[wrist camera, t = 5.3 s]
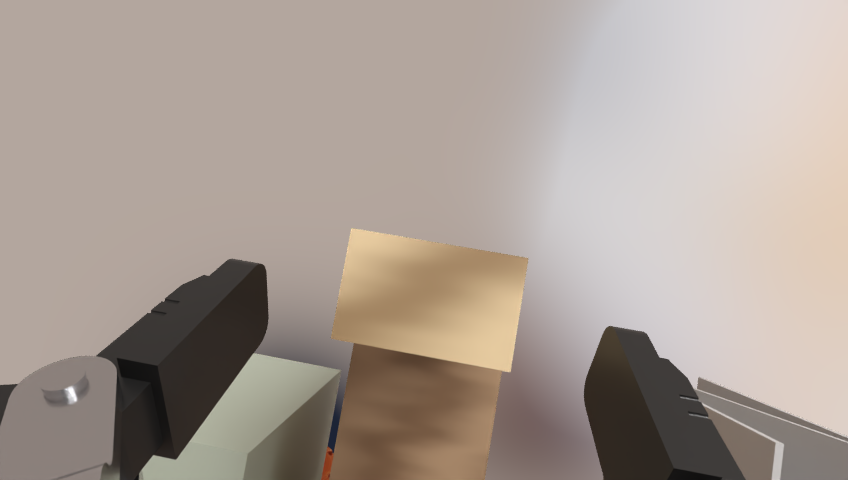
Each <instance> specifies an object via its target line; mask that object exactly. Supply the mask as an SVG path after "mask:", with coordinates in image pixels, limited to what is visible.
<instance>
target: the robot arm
mask: <svg viewBox="0 0 848 480" xmlns="http://www.w3.org/2000/svg"><path fill="white" fill-rule="evenodd" d="M266 276H267V275H266V269H265V266H264V265H263V264H259V263H253V262H248V261H242V260H236V259H229V260H227V261H226V262H225V263H224V264H222V265H221V266H220V267H219V268H218V269H217V270H216V271H214V272H213V273H212V274H211V275H210V276H206V275H203V276H201V277H199V278H196V279H194V280H192V281H190V282H187V283H185V284H183V285H181V286H180V287H179V288H177V289H176V290H175V291H174V292H173V293H171V294H170V295H169V296H168V297H167V298H165V301H164V302H161V303H159V304H158V305H157V306H156V307H154V308H153V309H152V310H151V313H147V314H146V315H145V316H144V317H142V318H141V319H140V320H139V321H138V322H136V323H135V324H134V325H133V326H132V327H130V328H129V329H128V330H127V331H126V332H124V333H123V334H122V335H121V336H120V337H118V338H117V339H116V340H115V341H114V342H112V343H111V344H110V345H109V346H108V347H106V348H105V349H104V350H103V351H101V352H100V353H99V354H98V355H97V356H79V357H73V358H68V359H64V360H60V361H57V362H54V363H52V364H49V365H47V366H45V367H42V368H41V369H39V370H37V371H35V372H33V373H32V374H30V375H29V376H27V377H26V378H25V379H23V380H22V381H21V382H20V383H19V384H12V385H0V480H144V478H143V472H142V469H143V468H144V466H145V465H146V464H147V463H148V461H149V460H150V459H151V457H152V456H153V455H155V456H159V457H164V458H169V459H174V460H176V459H177V458H178V457H179V455H180V454H181V452H182V451H183V450H184V448H185V447H186V446H187V444H188V443H189V441H190V440H191V439H192V437H193V436H194V435H195V433H196V432H197V430H198V429H199V428H200V426H201V425H202V424H203V422H204V421H205V419H206V418H207V417H208V415H209V414H210V413H211V411H212V410H213V408H214V407H215V406H216V404H217V403H218V401H219V400H220V399H221V397H222V396H223V395H224V393H225V392H226V390H227V389H228V388H229V386H230V385H231V384H232V382H233V381H234V379H235V378H236V377H237V375H238V374H239V373H240V371H241V370H242V368H243V367H244V366H245V364H246V363H247V362H248V360H249V359H250V357H251V356H252V355H253V353H254V352H255V351H256V349H257V348H258V346H259V345H260V344H261V342H262V340H263V338H264V336H265V333H266V330H267V325H268V297H267V277H266ZM698 399H699V397H698V396H697V394H696V392H695V390H694V389H693V387H692V385H691V384H690V382H689V380H688V378H687V377H686V376H685V375H684V374H683V373H682V372H680V370H678V369H677V368H676V367H675V366H674V365H673V364H672V363H671V362H670V361H669V360H668V359H664V358H659V356H658V354H657V352H656V350H655V348H654V346H653V344H652V343H651V341H650V339H649V337H648V335H647V334H646V333H644V332H641V331H635V330H629V329H624V328H618V327H613V326H609V327H607V328H606V329H605V331H604V333H603V335H602V338H601V340H600V343H599V345H598V348H597V351H596V354H595V356H594V359H593V361H592V364H591V367H590V369H589V372H588V375H587V378H586V381H585V388H584V401H585V407H586V411H587V415H588V418H589V422H590V426H591V430H592V434H593V437H594V442H595V446H596V449H597V453H598V457H599V461H600V465H601V468H602V472H603V476H604V480H746V479H745V477H744V476H743V474H742V472H741V470H740V469H739V467H738V465H737V463H736V462H735V460H734V458H733V456H732V455H731V453H730V451H729V449H728V448H727V446H726V444H725V443H724V441H723V439H722V437H721V436H720V434H719V432H718V430H717V429H716V427H715V425H714V423H713V422H712V420H711V419H708V416H709V415H708V413H707V411H706V410H705V408H704V406H703V404H702V403H701V402H699V401H698Z"/></svg>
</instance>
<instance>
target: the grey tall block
mask: <svg viewBox="0 0 848 480" xmlns="http://www.w3.org/2000/svg"><path fill="white" fill-rule="evenodd" d="M693 389H694V390H695V392H696V394H697V396H698V397H699V399H698V401H699V402H701V403H702V404H703V406H704V408H705V410H706V411H707V413H708V415H709V416H708V419H711V420H712V422H713V423H714V425H715V427H716V429H717V430H718V432H719V434H720V436H721V437H722V439H723V441H724V443H725V444H726V446H727V448H728V449H729V451H730V453H731V455H732V456H733V458H734V460H735V462H736V463H737V465H738V467H739V469H740V470H741V472H742V474H743V476H744V477H745V479H746V480H848V436H845V435H843V434H840V433H838V432H835V431H832V430H831V429H828V428H825V427H823V426H820V425H818V424H815V423H813V422H811V421H808V420H806V419H803V418H800V417H798V416H796V415H793V414H791V413H788V412H786V411H783V410H781V409H779V408H776V407H774V406H771V405H768V404H766V403H764V402H761V401H759V400H756V399H754V398H751V397H749V396H746V395H744V394H741V393H739V392H737V391H734V390H731V389H729V388H726V387H724V386H721V385H719V384H717V383H714V382H712V381H709V380H707V379H704V378H700V377H699V378H698V386H697V389H696V388H693ZM603 480H604V477H603Z"/></svg>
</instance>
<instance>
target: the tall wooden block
mask: <svg viewBox="0 0 848 480" xmlns="http://www.w3.org/2000/svg"><path fill="white" fill-rule="evenodd" d="M501 373H502V371H501V370H496V369H490V368H485V367H480V366H474V365H469V364H464V363H458V362H453V361H448V360H442V359H437V358H432V357H426V356H421V355H416V354H410V353H405V352H400V351H394V350H389V349H384V348H378V347H373V346H368V345H362V344H357V343H354V346H353V351H352V357H351V363H350V368H349V374H348V379H347V384H346V390H345V395H344V401H343V407H342V412H341V417H340V423H339V428H338V434H337V439H336V445H335V450H334V455H333V461H332V466H331V472H330V477H329V480H484V479H485V474H486V467H487V461H488V455H489V449H490V442H491V436H492V430H493V422H494V417H495V410H496V404H497V398H498V392H499V385H500V379H501Z"/></svg>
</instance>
